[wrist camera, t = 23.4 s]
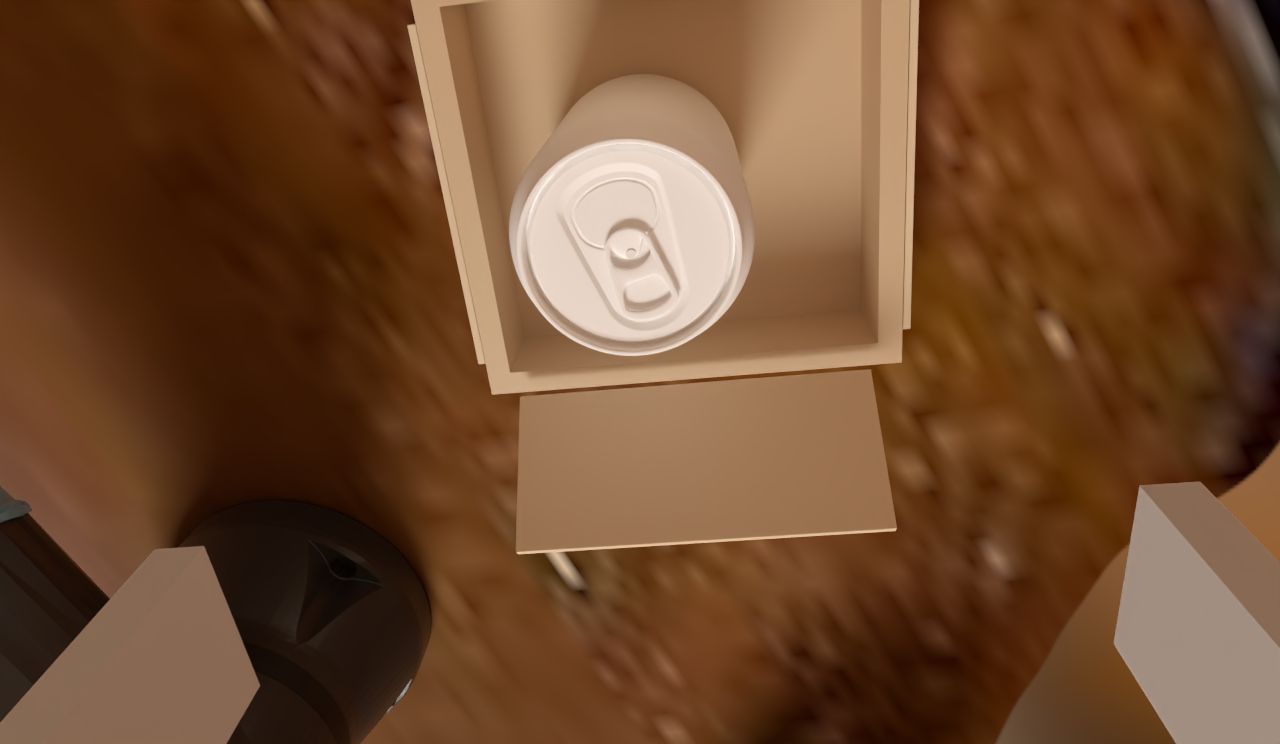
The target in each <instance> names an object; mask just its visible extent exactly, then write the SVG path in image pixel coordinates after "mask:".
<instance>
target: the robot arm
mask: <svg viewBox="0 0 1280 744" xmlns="http://www.w3.org/2000/svg"><path fill="white" fill-rule="evenodd" d="M30 511H32V509H31V508H30V506H29V504H28V503H26V502H25V501H20V500H15V499H14V498H12V497H11V496H10V495H9V494H8V493H7V492H6V491H5V490H4V489H3V488H2V487H1V486H0V744H360V743H361V742H362V741H363V740H364V738H365V737H366V736H367V735H368V734H369V733H370V731H371V730H372V729H373V728H374V727H375V726H376V725H377V723H378V722H379V721H380V720H381V718H382V717H383V716H384V715H385V714H386V713H387V712H388V711H389V710H390V709H391V708H392V707H393V706H394V705H395V704H397V703H398V701H399V700H400V699H401V698H402V697H403V696H404V695H405V694H406V692H407V691H408V689H409V688H410V686H411V684H412V683H413V681H414V679H415V677H416V675H417V672H418V670H419V667H420V664H421V662H422V659H423V656H424V654H425V651H426V648H427V646H428V642H429V638H430V632H431V615H430V608H429V604H428V600H427V597H426V594H425V591H424V589H423V587H422V585H421V583H420V581H419V579H418V577H417V575H416V574H415V572H414V571H413V569H412V568H411V566H410V565H409V564H408V562H407V561H406V560H405V559H404V558H403V556H402V555H401V554H400V553H399V552H398V551H397V550H396V549H395V548H394V547H393V546H392V545H390V544H389V543H388V542H387V541H386V540H385V539H383V538H382V537H381V536H379V535H378V534H377V533H375V532H374V531H372V530H371V529H369V528H368V527H366V526H364V525H363V524H361V523H359V522H357V521H355V520H353V519H351V518H349V517H347V516H345V515H342V514H340V513H337V512H335V511H332V510H329V509H326V508H323V507H319V506H315V505H311V504H306V503H300V502H293V501H278V500H270V501H256V502H250V503H244V504H240V505H236V506H233V507H230V508H227V509H225V510H222V511H220V512H218V513H216V514H214V515H212V516H210V517H209V518H207V519H206V520H204V521H203V522H202V523H200V524H199V525H198V526H197V527H196V528H195V529H193V530H192V532H191V533H190V534H189V535H188V536H187V537H186V538H185V540H184V541H183V542H182V543H181V544H180V546H179V547H178V548H165V549H155V550H154V551H153V552H152V553H151V554H150V555H149V556H148V557H147V558H146V560H145V561H144V562H143V563H142V564H141V565H140V566H139V567H138V569H137V570H136V571H135V572H134V573H133V574H132V575H131V576H130V578H129V579H128V580H127V581H126V582H125V583H124V584H123V585H122V587H121V588H120V589H119V590H118V591H117V592H116V593H115V594H114V595H113V597H112V598H111V599H110V598H109V597H108V596H107V595H106V594H105V593H104V592H103V591H102V590H101V589H100V588H99V587H98V586H97V585H96V584H95V583H94V582H93V581H92V580H91V578H90V577H89V576H88V575H87V574H86V573H85V572H84V571H83V570H82V569H81V568H80V567H79V566H78V565H77V564H76V563H75V562H74V561H73V560H72V559H71V558H70V556H69V555H68V554H67V553H66V552H65V551H64V550H63V549H62V548H61V547H60V546H59V545H58V544H57V543H56V542H55V541H54V540H53V539H52V538H51V537H50V536H49V534H48V533H47V532H46V531H45V530H44V529H43V528H42V527H41V526H40V525H39V524H38V523H37V522H36V521H35V520H34V519H33V518H32V517H31V516H30V515H29V514H28V512H30ZM1114 645H1115V646H1116V648H1117V650H1118V651H1119V653H1120V655H1121V656H1122V658H1123V659H1124V661H1125V663H1126V664H1127V666H1128V667H1129V669H1130V670H1131V672H1132V674H1133V675H1134V677H1135V679H1136V680H1137V682H1138V683H1139V685H1140V687H1141V688H1142V690H1143V691H1144V693H1145V695H1146V696H1147V698H1148V699H1149V701H1150V702H1151V704H1152V706H1153V707H1154V709H1155V711H1156V712H1157V714H1158V715H1159V717H1160V719H1161V720H1162V722H1163V723H1164V725H1165V726H1166V728H1167V730H1168V731H1169V733H1170V735H1171V736H1172V738H1173V739H1174V741H1175V743H1176V744H1280V563H1279V562H1278V561H1277V560H1276V558H1275V557H1274V556H1273V555H1272V554H1270V552H1269V551H1268V550H1267V549H1266V548H1265V547H1264V546H1263V545H1262V544H1261V543H1260V542H1259V541H1258V540H1257V539H1256V538H1255V537H1254V536H1253V535H1252V534H1251V533H1250V532H1249V531H1248V530H1247V529H1246V528H1245V527H1244V526H1243V525H1242V524H1241V523H1240V522H1239V521H1238V520H1237V519H1236V518H1235V517H1234V516H1233V515H1232V514H1231V513H1230V512H1229V511H1228V510H1227V509H1226V508H1225V507H1224V506H1223V505H1222V504H1221V502H1220V501H1219V500H1218V499H1217V498H1216V497H1215V496H1214V495H1213V494H1212V493H1211V492H1210V491H1209V490H1208V489H1207V488H1206V487H1205V486H1204V485H1203V484H1202V483H1201V482H1187V483H1172V484H1156V485H1141V486H1139V492H1138V498H1137V504H1136V510H1135V517H1134V523H1133V529H1132V535H1131V541H1130V547H1129V553H1128V559H1127V566H1126V571H1125V577H1124V584H1123V589H1122V596H1121V602H1120V608H1119V614H1118V620H1117V626H1116V632H1115V638H1114Z"/></svg>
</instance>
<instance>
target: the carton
mask: <svg viewBox="0 0 1280 744" xmlns="http://www.w3.org/2000/svg"><path fill="white" fill-rule="evenodd" d="M411 4H412V9H413V13H414V18H415V24H411V25H407V26H408V30H409V35H410V40H411V45H412V49H413V54H414V59H415V64H416V69H417V73H418V78H419V83H420V88H421V92H422V97H423V102H424V107H425V111H426V116H427V121H428V126H429V130H430V135H431V140H432V145H433V149H434V154H435V159H436V164H437V168H438V173H439V178H440V183H441V187H442V192H443V197H444V202H445V207H446V211H447V216H448V221H449V226H450V230H451V235H452V240H453V245H454V249H455V254H456V259H457V264H458V268H459V273H460V278H461V283H462V287H463V292H464V297H465V302H466V306H467V311H468V316H469V321H470V325H471V330H472V335H473V340H474V345H475V349H476V354H477V359H478V364H485V363H486V367H487V372H488V377H489V382H490V387H491V392H492V395H493V394H506V393H518V392H531V391H544V390H557V389H569V388H582V387H595V386H608V385H620V384H633V383H646V382H658V381H671V380H684V379H697V378H709V377H722V376H735V375H747V374H760V373H773V372H786V371H798V370H811V369H824V368H837V367H849V366H862V365H875V364H887V363H900V362H902V328H903V329H910V321H911V284H912V247H913V209H914V172H915V135H916V98H917V60H918V23H919V0H411ZM634 74H654V75H661V76H665V77H669V78H672V79H675V80H678V81H681V82H683V83H685V84H687V85H689V86H691V87H692V88H694V89H695V90H697V91H698V92H700V93H701V94H702V95H704V96H705V97H706V98H707V99H708V100H709V101H710V102H711V103H712V104H713V105H714V106H715V107H716V108H717V110H718V111H719V112H720V114H721V115H722V117H723V118H724V120H725V121H726V123H727V125H728V127H729V129H730V131H731V134H732V136H733V139H734V142H735V146H736V149H737V153H738V157H739V161H740V164H741V168H742V172H743V175H744V179H745V183H746V186H747V190H748V194H749V197H750V201H751V205H752V210H753V215H754V222H755V246H754V253H753V259H752V263H751V266H750V270H749V273H748V276H747V278H746V281H745V283H744V285H743V287H742V289H741V291H740V292H739V294H738V296H737V297H736V299H735V301H734V302H733V303H732V305H731V306H730V307H729V309H728V310H727V311H726V312H725V313H724V314H723V315H722V316H721V317H720V318H719V319H718V320H717V321H716V322H715V323H714V324H713V325H712V326H710V327H709V328H708V329H706V330H705V331H704V332H702V333H701V334H699V335H697V336H696V337H694V338H693V339H691V340H689V341H687V342H686V343H684V344H682V345H679V346H677V347H675V348H672V349H669V350H666V351H663V352H659V353H655V354H649V355H640V356H623V355H614V354H608V353H604V352H600V351H597V350H594V349H591V348H588V347H586V346H584V345H581V344H579V343H577V342H575V341H574V340H572V339H570V338H569V337H567V336H566V335H564V334H563V333H561V332H560V331H559V330H558V329H556V328H555V327H554V326H553V325H552V324H551V323H550V322H549V321H548V320H547V319H546V318H545V317H544V316H543V315H542V314H541V312H540V311H539V310H538V308H537V307H536V306H535V304H534V303H533V302H532V300H531V299H530V297H529V296H528V294H527V293H526V291H525V289H524V287H523V286H522V284H521V282H520V279H519V277H518V275H517V272H516V269H515V266H514V263H513V259H512V255H511V249H510V241H509V220H510V212H511V207H512V202H513V198H514V195H515V192H516V189H517V187H518V184H519V182H520V180H521V178H522V176H523V174H524V172H525V171H526V169H527V167H528V166H529V164H530V163H531V161H532V160H533V159H534V157H535V156H536V155H537V153H538V152H539V151H540V149H541V148H542V147H543V145H544V144H545V143H546V141H547V140H548V139H549V137H550V136H551V135H552V133H553V132H554V131H555V129H556V128H557V127H558V125H559V124H560V123H561V121H562V120H563V119H564V117H565V116H566V115H567V113H568V112H569V111H570V109H571V108H572V107H573V106H574V105H575V104H576V103H577V102H578V101H579V100H580V99H581V98H582V97H583V96H584V95H585V94H587V93H588V92H589V91H591V90H592V89H594V88H595V87H597V86H599V85H601V84H603V83H605V82H607V81H609V80H612V79H615V78H618V77H622V76H627V75H634Z"/></svg>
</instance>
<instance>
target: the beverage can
mask: <svg viewBox="0 0 1280 744" xmlns="http://www.w3.org/2000/svg"><path fill="white" fill-rule="evenodd" d="M509 241H510V249H511V255H512V259H513V263H514V266H515V269H516V272H517V275H518V277H519V279H520V282H521V284H522V286H523V287H524V289H525V291H526V293H527V294H528V296H529V297H530V299H531V300H532V302H533V303H534V304H535V306H536V307H537V308H538V310H539V311H540V312H541V314H542V315H543V316H544V317H545V318H546V319H547V320H548V321H549V322H550V323H551V324H552V325H553V326H554V327H555V328H556V329H558V330H559V331H560V332H561V333H563V334H564V335H566V336H567V337H569V338H570V339H572V340H574V341H575V342H577V343H579V344H581V345H584V346H586V347H588V348H591V349H594V350H597V351H600V352H604V353H608V354H614V355H623V356H640V355H649V354H655V353H659V352H663V351H666V350H669V349H672V348H675V347H677V346H679V345H682V344H684V343H686V342H687V341H689V340H691V339H693V338H694V337H696V336H697V335H699V334H701V333H702V332H704V331H705V330H706V329H708V328H709V327H710V326H712V325H713V324H714V323H715V322H716V321H717V320H718V319H719V318H720V317H721V316H722V315H723V314H724V313H725V312H726V311H727V310H728V309H729V307H730V306H731V305H732V303H733V302H734V301H735V299H736V297H737V296H738V294H739V292H740V291H741V289H742V287H743V285H744V283H745V281H746V278H747V276H748V273H749V270H750V266H751V263H752V259H753V253H754V246H755V222H754V215H753V210H752V205H751V201H750V197H749V194H748V190H747V186H746V183H745V179H744V175H743V172H742V168H741V164H740V161H739V157H738V153H737V149H736V146H735V142H734V139H733V136H732V134H731V131H730V129H729V127H728V125H727V123H726V121H725V120H724V118H723V117H722V115H721V114H720V112H719V111H718V110H717V108H716V107H715V106H714V105H713V104H712V103H711V102H710V101H709V100H708V99H707V98H706V97H705V96H704V95H702V94H701V93H700V92H698V91H697V90H695V89H694V88H692V87H691V86H689V85H687V84H685V83H683V82H681V81H678V80H675V79H672V78H669V77H665V76H661V75H654V74H634V75H627V76H622V77H618V78H615V79H612V80H609V81H607V82H605V83H603V84H601V85H599V86H597V87H595V88H594V89H592V90H591V91H589V92H588V93H587V94H585V95H584V96H583V97H582V98H581V99H580V100H579V101H578V102H577V103H576V104H575V105H574V106H573V107H572V108H571V109H570V111H569V112H568V113H567V115H566V116H565V117H564V119H563V120H562V121H561V123H560V124H559V125H558V127H557V128H556V129H555V131H554V132H553V133H552V135H551V136H550V137H549V139H548V140H547V141H546V143H545V144H544V145H543V147H542V148H541V149H540V151H539V152H538V153H537V155H536V156H535V157H534V159H533V160H532V161H531V163H530V164H529V166H528V167H527V169H526V171H525V172H524V174H523V176H522V178H521V180H520V182H519V184H518V187H517V189H516V192H515V195H514V198H513V202H512V207H511V212H510V220H509Z"/></svg>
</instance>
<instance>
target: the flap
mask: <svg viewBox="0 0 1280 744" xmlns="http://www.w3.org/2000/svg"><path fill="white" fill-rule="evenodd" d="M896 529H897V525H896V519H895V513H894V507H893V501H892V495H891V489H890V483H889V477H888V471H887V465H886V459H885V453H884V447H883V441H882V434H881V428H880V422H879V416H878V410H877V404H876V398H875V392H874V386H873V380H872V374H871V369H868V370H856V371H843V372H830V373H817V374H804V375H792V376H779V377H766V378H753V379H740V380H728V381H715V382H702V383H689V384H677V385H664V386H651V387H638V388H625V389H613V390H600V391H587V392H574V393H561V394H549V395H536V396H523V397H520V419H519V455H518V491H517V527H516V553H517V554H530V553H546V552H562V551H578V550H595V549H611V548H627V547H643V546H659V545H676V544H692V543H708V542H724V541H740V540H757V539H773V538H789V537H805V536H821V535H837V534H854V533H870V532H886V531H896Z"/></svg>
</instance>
